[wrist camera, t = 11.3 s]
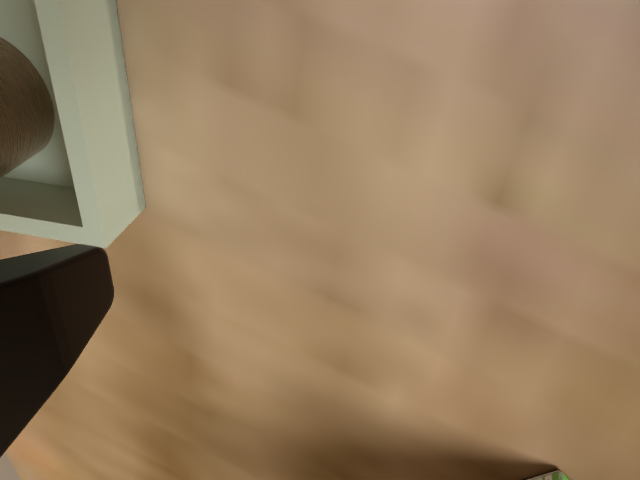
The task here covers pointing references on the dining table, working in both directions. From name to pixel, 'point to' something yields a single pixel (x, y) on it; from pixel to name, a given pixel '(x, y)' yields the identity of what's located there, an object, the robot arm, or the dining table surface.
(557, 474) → the syrup box
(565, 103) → the dining table surface
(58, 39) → the tote
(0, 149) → the coffee tin
